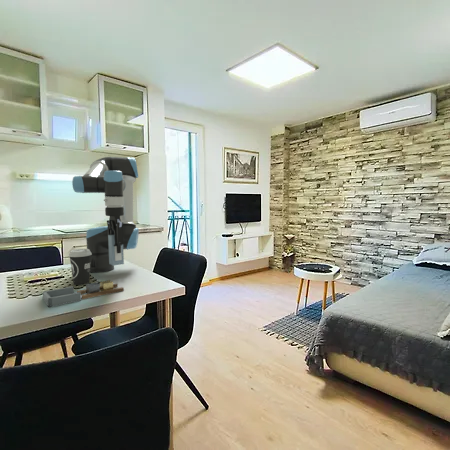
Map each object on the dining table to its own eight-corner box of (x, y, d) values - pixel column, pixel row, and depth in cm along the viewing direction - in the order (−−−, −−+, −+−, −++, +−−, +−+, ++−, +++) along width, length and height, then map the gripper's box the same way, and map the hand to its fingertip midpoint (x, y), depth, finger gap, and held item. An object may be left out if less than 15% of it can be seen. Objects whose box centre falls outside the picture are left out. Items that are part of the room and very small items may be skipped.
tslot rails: (76, 293, 118) (76, 290, 118) (116, 286, 129) (116, 283, 129) (82, 299, 112) (82, 296, 112) (123, 290, 123) (123, 287, 122)
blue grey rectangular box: (109, 263, 131) (108, 235, 129) (120, 262, 134) (119, 234, 132) (112, 265, 128) (111, 236, 126) (123, 263, 131) (122, 235, 129)
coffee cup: (83, 286, 129) (82, 252, 127) (64, 285, 131) (63, 251, 129) (97, 280, 138) (96, 249, 137) (79, 279, 140) (78, 248, 139)
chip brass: (100, 291, 122) (99, 281, 122) (109, 289, 125) (109, 280, 125) (103, 293, 119) (103, 283, 119) (113, 291, 122) (113, 282, 122)
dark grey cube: (86, 293, 119) (85, 284, 118) (96, 291, 121) (96, 282, 121) (89, 296, 116) (88, 286, 115) (99, 294, 118) (99, 284, 118)
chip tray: (42, 299, 112) (42, 291, 112) (73, 293, 119) (72, 286, 119) (48, 307, 104) (48, 298, 103) (80, 300, 110) (80, 292, 110)
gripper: (98, 206, 132) (101, 257, 134) (112, 207, 119) (115, 264, 122) (115, 205, 137) (117, 255, 139) (130, 207, 124) (132, 261, 126)
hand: (116, 259), depth 130 cm, fingers closed on blue grey rectangular box, 4 cm apart
